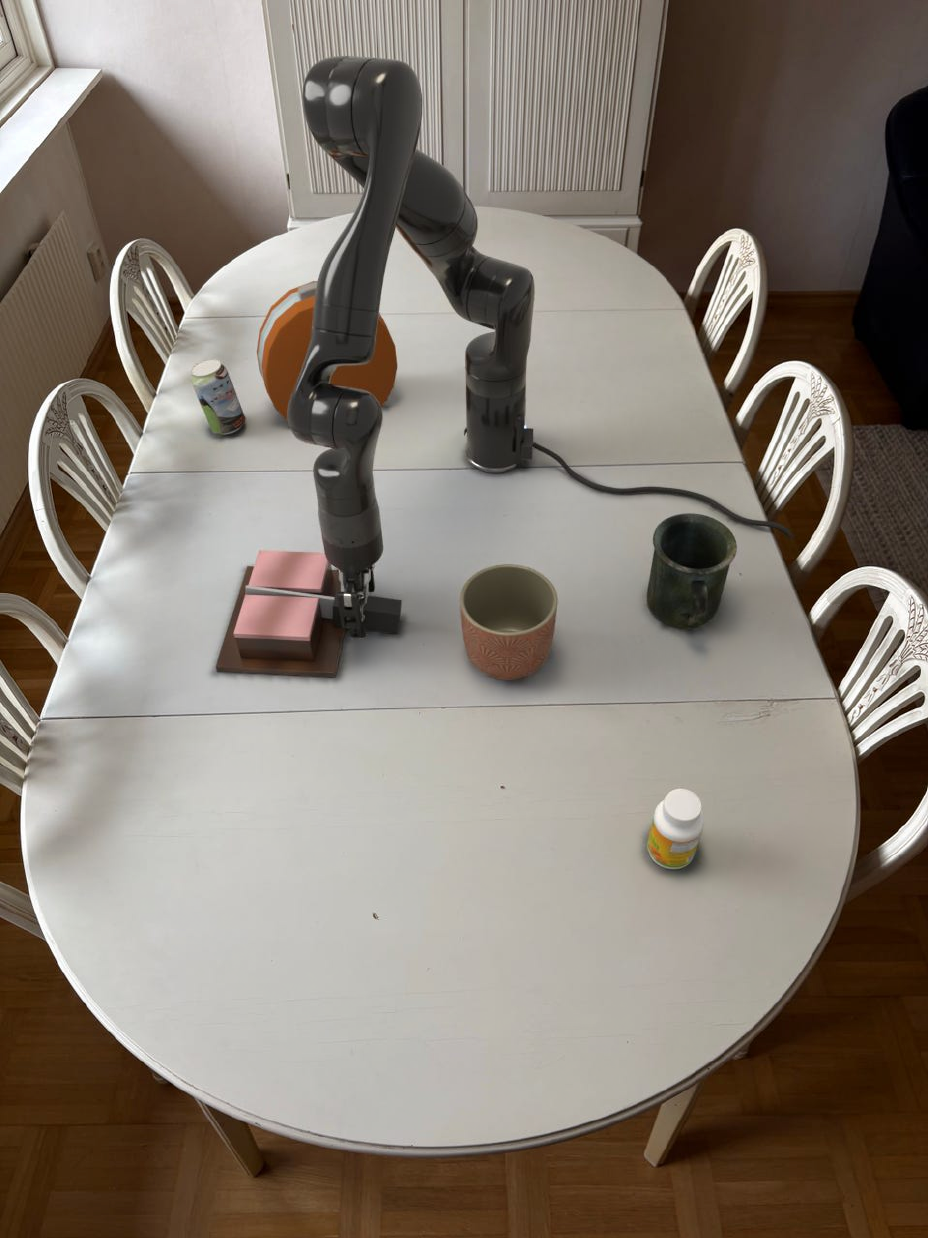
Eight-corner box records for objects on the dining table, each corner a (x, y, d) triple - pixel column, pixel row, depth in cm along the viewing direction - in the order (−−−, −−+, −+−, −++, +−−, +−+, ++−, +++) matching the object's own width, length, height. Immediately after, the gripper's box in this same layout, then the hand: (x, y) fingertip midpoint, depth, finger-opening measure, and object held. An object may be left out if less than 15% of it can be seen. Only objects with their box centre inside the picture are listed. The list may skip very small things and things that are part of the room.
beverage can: (239, 441, 166) (225, 379, 157) (198, 436, 167) (181, 375, 158) (252, 418, 170) (239, 357, 161) (211, 413, 171) (196, 353, 162)
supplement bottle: (642, 830, 116) (652, 784, 108) (688, 826, 116) (701, 780, 109) (652, 872, 112) (663, 828, 105) (699, 868, 112) (714, 824, 105)
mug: (714, 574, 143) (729, 511, 134) (731, 652, 133) (749, 590, 125) (638, 575, 143) (648, 512, 134) (650, 652, 134) (662, 591, 125)
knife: (400, 619, 139) (402, 599, 136) (397, 634, 137) (399, 615, 134) (249, 598, 138) (247, 578, 135) (244, 613, 136) (243, 593, 133)
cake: (356, 575, 144) (352, 545, 140) (335, 677, 132) (329, 648, 127) (248, 570, 146) (240, 540, 141) (216, 671, 133) (207, 642, 128)
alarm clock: (386, 374, 178) (375, 254, 161) (401, 405, 172) (392, 284, 155) (264, 399, 174) (240, 279, 157) (275, 432, 167) (251, 310, 151)
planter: (447, 636, 136) (444, 580, 128) (529, 608, 139) (531, 552, 131) (484, 702, 129) (483, 647, 120) (569, 671, 132) (575, 616, 124)
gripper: (372, 566, 119) (383, 654, 131) (387, 488, 129) (396, 576, 141) (310, 564, 120) (326, 651, 132) (330, 486, 129) (343, 574, 141)
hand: (362, 612), depth 136 cm, fingers open, 8 cm apart
